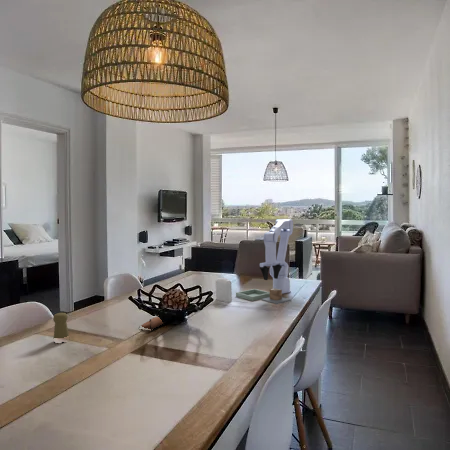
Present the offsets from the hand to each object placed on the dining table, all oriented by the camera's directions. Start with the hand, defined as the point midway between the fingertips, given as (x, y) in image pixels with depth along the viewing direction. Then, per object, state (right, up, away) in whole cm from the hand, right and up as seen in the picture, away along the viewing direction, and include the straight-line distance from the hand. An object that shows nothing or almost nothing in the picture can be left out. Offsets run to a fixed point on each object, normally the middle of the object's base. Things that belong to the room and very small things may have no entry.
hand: (270, 279), depth 214 cm
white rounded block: (-26, -12, -2) cm, 28 cm away
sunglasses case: (-55, -15, -42) cm, 70 cm away
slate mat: (+2, -11, -6) cm, 12 cm away
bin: (-9, -10, +4) cm, 14 cm away
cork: (-89, -16, -60) cm, 108 cm away
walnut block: (+2, -10, -5) cm, 11 cm away
